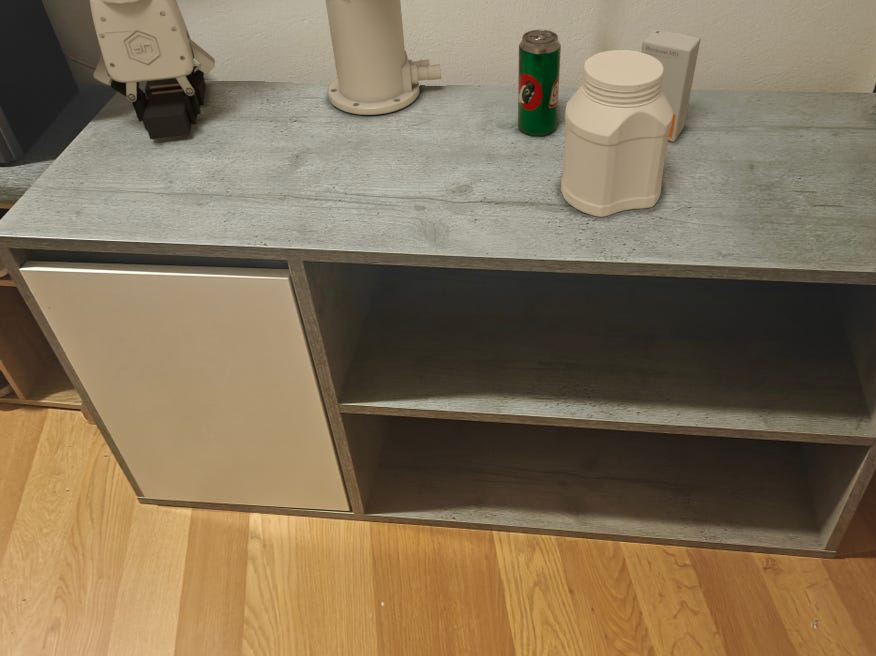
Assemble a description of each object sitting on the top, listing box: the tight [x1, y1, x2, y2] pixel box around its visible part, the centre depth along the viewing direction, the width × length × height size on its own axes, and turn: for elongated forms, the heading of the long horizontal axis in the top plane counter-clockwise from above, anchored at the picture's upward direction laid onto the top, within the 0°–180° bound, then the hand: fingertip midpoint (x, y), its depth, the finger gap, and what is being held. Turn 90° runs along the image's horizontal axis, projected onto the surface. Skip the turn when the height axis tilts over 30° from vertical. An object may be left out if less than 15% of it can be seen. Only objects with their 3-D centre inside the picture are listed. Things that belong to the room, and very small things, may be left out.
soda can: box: [517, 29, 562, 137], centre depth 100 cm, size 5×5×12 cm
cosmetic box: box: [640, 28, 701, 143], centre depth 99 cm, size 6×4×12 cm
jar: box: [560, 49, 673, 218], centre depth 89 cm, size 12×10×15 cm
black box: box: [143, 89, 192, 140], centre depth 105 cm, size 5×7×3 cm
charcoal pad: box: [144, 65, 207, 107], centre depth 112 cm, size 7×6×3 cm
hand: (171, 121), depth 106 cm, fingers closed on black box, 5 cm apart
